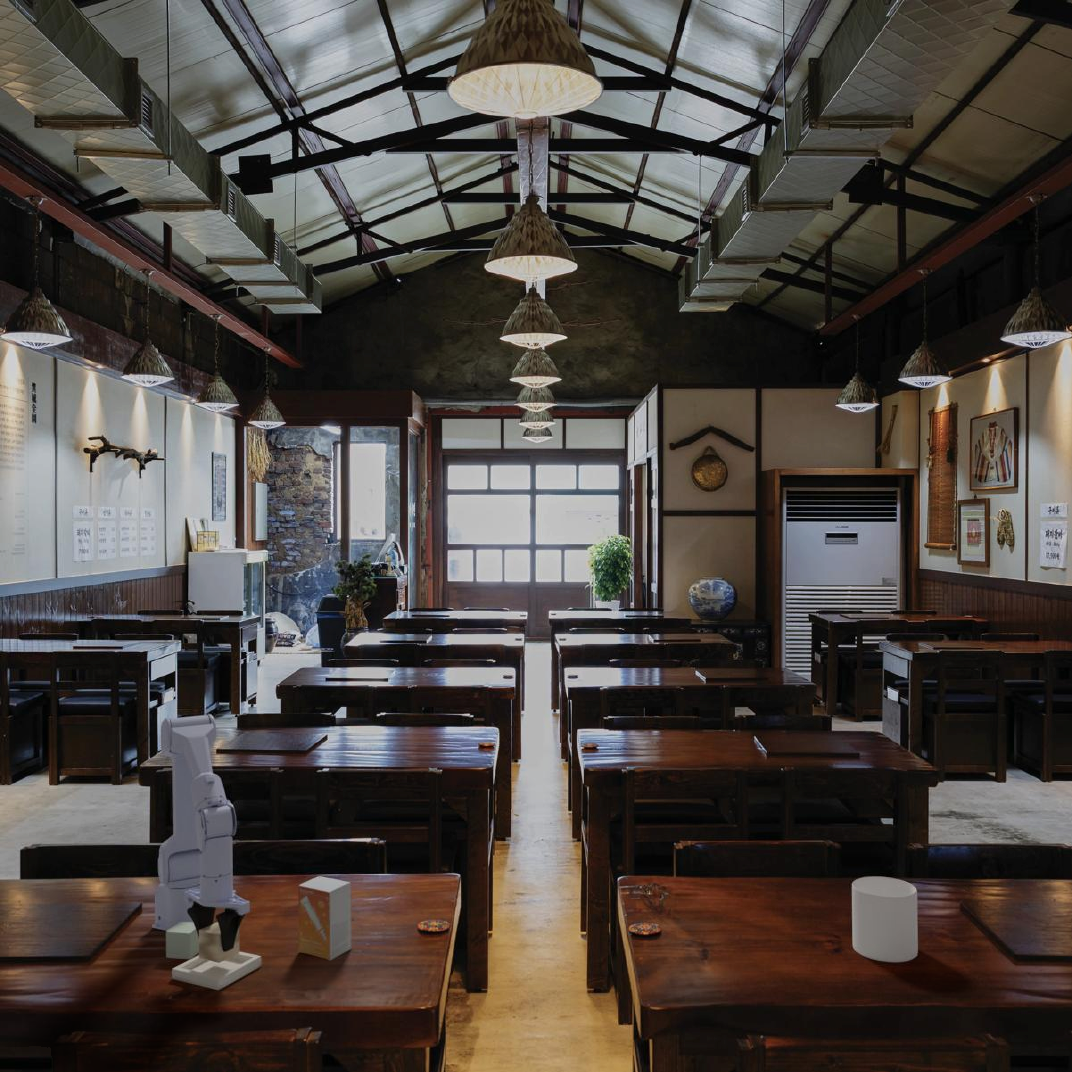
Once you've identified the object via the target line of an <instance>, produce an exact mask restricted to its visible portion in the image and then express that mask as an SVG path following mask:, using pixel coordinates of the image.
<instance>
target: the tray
mask: <svg viewBox="0 0 1072 1072" xmlns="http://www.w3.org/2000/svg"><path fill="white" fill-rule="evenodd" d="M261 967H262V955H261V956H260V955H258V954H253V953H248V952H244V951H240V950H239V953H238V954H236V955H234V956H232V957H230V958H228V959H226V960H224V961H222V962H220V963H217V962H213V961H210V960H206V959H202V958H199V954H198V955H197V956H196V955H195V956H194V957H193V958H191V959H187V961H185V962H183V963H181V964H179V965H177V966H175V967H173V968H172V969H171V970H172V971H171V973H172V974H171V978H172V980H176V981H179V982H183V983H188V984H192V985H195V986H200V987H202V988H208V989H212V990H216V991H221V990H222V989H223V988H225V987H227V986H229V985H230V984H232V983H234V982H236V981H237V980H239V979H241V978H243V977H245V976H246V975H248V974H250V973H251V972H254V971H256V970H257V969H259V968H261Z"/></svg>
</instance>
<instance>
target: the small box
mask: <svg viewBox="0 0 1072 1072" xmlns="http://www.w3.org/2000/svg"><path fill="white" fill-rule="evenodd" d="M297 886H298V887H297V888H298V893H297V894H298V895H297V896H298V899H297V900H298V910H297V911H298V921H297V922H298V923H297V924H298V925H297V926H298V953H303V954H307V955H309V956H310V955H311V956H314V957H318V958H321V959H323V960H324V959H325V960H327V961H332V960H335V958H337V957H339V956H341V955H342V954H345V953H346V952H348V951H349V950H351V949H352V900H351V898H352V896H351V895H352V894H351V893H352V891H351V889H352V888H351V887H352V882H350V881H345V880H342V879H341V880H340V879H337V878H332V877H326V876H321V875H319V876H316V877H314V878H311V879H309V880H307V881H305V882H302V883H300V884H299V885H297Z"/></svg>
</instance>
